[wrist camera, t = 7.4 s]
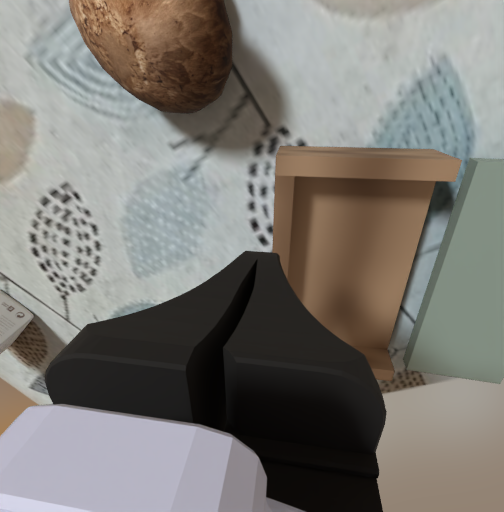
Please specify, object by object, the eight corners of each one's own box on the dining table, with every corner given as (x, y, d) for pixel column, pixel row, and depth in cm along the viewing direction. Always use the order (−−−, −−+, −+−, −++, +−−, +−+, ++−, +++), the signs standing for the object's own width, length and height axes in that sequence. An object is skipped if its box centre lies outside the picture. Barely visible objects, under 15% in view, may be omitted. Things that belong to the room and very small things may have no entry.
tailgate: (406, 369, 22) (500, 384, 20) (478, 161, 15) (623, 166, 14) (403, 359, 22) (492, 372, 21) (469, 158, 16) (605, 162, 15)
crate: (272, 333, 25) (268, 366, 22) (280, 145, 18) (276, 155, 15) (380, 345, 24) (391, 381, 21) (433, 149, 17) (462, 160, 14)
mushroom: (205, -194, 10) (86, -152, 8) (290, 48, 16) (235, 121, 13) (99, -65, 15) (4, -13, 13) (190, 86, 21) (137, 144, 18)
